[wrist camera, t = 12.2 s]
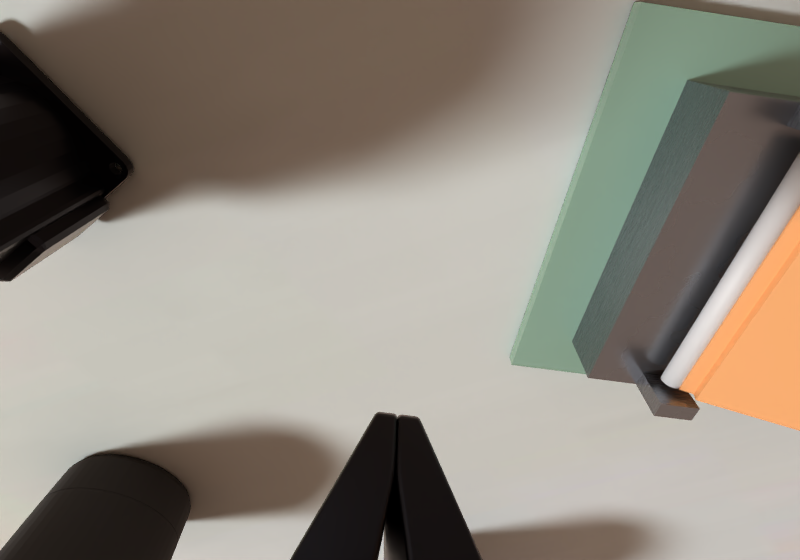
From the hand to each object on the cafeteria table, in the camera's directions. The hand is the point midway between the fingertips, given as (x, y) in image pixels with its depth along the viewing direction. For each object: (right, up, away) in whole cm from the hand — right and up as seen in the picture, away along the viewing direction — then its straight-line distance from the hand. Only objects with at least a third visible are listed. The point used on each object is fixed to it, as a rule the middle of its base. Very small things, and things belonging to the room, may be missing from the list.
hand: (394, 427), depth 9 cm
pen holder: (-19, -12, +23) cm, 32 cm away
